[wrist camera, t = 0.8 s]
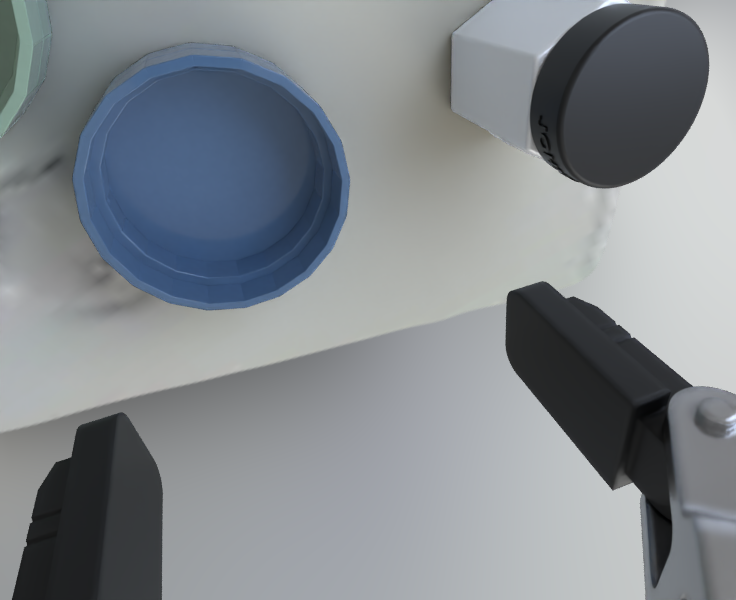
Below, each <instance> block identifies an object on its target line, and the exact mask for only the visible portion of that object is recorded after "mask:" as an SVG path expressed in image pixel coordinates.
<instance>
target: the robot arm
mask: <svg viewBox="0 0 736 600" xmlns="http://www.w3.org/2000/svg"><path fill="white" fill-rule="evenodd" d="M506 352H507V356H508V359H509V361H510V364H511V365H512V367H513V369H514V371H515V372H516V373H517V375H518V376H519V377H520V378H521V379H522V381H523V382H524V383H525V384H526V386H527V387H528V388H529V389H530V390H531V392H532V393H533V394H534V395H535V397H536V398H537V399H538V400H539V401H540V403H541V404H542V405H543V406H544V407H545V409H546V410H547V411H548V412H549V413H550V415H551V416H552V417H553V418H554V420H555V421H556V422H557V423H558V424H559V426H560V427H561V428H562V429H563V430H564V432H565V433H566V434H567V435H568V437H569V438H570V439H571V440H572V442H573V443H574V444H575V445H576V446H577V448H578V449H579V450H580V451H581V453H582V454H583V455H584V456H585V457H586V459H587V460H588V461H589V462H590V463H591V465H592V466H593V467H594V468H595V470H596V471H597V472H598V473H599V474H600V476H601V477H602V478H603V479H604V481H606V483H607V484H608V485H609V487H610V488H611V489H612V490H615V489H617V488H620V487H623V486H625V485H628V484H630V483H634V484H635V485H636V486H637V488H638V489H639V490H640V491H641V492H642V495H641V499H640V509H641V526H642V541H643V542H642V543H643V559H644V576H645V597H646V598H645V599H646V600H736V395H735V394H733V393H731V392H728V391H725V390H721V389H718V388H713V387H704V386H699V387H693V386H692V385H691V384H689V383H688V382H687V381H686V380H685V379H683V378H682V377H681V376H680V375H679V374H677V373H676V372H675V371H674V370H673V369H671V368H670V367H669V366H668V365H666V364H665V363H664V362H663V361H662V360H660V359H659V358H658V357H657V356H656V355H654V354H653V353H652V352H651V351H650V350H649V349H647V348H646V347H645V346H644V345H643V344H641V343H640V342H639V341H638V340H637V339H635V338H631V336H630V334H629V333H628V332H627V331H626V330H625V329H623V328H622V327H621V326H620V325H616V323H615V321H614V320H612V319H611V318H610V317H609V316H608V315H606V314H605V313H604V312H603V311H602V310H601V309H599V308H598V307H596V306H594V305H592V304H590V303H587V302H584V301H583V300H580V299H578V298H576V297H570V298H567V299H566V298H564V297H563V296H562V295H561V294H560V293H559V292H558V291H557V290H555V289H554V288H553V287H552V286H551V285H550V284H548V283H547V282H543V281H542V282H538V283H535V284H532V285H529V286H525V287H522V288H519V289H516V290H513V291H510V292H509V293H508V296H507V307H506ZM162 498H163V492H162V482H161V477H160V474H159V470H158V467H157V465H156V463H155V461H154V459H153V457H152V456H151V454H150V452H149V451H148V449H147V447H146V446H145V444H144V443H143V441H142V439H141V438H140V436H139V434H138V433H137V431H136V430H135V428H134V426H133V425H132V423H131V421H130V419H129V418H128V417H127V415H126V414H124V413H118V414H114V415H111V416H108V417H105V418H102V419H99V420H95V421H92V422H89V423H86V424H82V425H80V426H79V427H78V429H77V432H76V436H75V442H74V447H73V452H72V457H71V458H68V459H65V460H62V461H59V462H56V463H55V464H54V466H53V468H52V469H51V471H50V472H49V474H48V476H47V477H46V479H45V480H44V482H43V483H42V485H41V486H40V488H39V489H38V493H37V497H36V501H35V505H34V509H33V513H32V521H33V522H32V523H30V526H29V530H28V534H27V539H26V542H27V546H26V547H24V551H23V555H22V560H21V564H20V568H19V572H18V577H17V581H16V585H15V589H14V593H13V598H12V600H162V502H163V499H162Z"/></svg>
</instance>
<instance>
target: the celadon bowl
mask: <svg viewBox="0 0 736 600" xmlns="http://www.w3.org/2000/svg"><path fill="white" fill-rule="evenodd" d="M51 33H52V29H51V23H50V18H49V12H48V7H47V2H46V0H0V138H2V137H3V136H4V135H5V133H6V132H7V131H8V130H9V129H10V128H11V127H12V126H13V125H14V124H15V123H16V122H17V121H18V120H19V119H20V118H21V116H22V115H23V114H24V113H25V112H26V110H27V108H28V107H29V105H30V103H31V102H32V100H33V98H34V97H35V95H36V93H37V92H38V90H39V88H40V87H41V85H42V84H43V82H44V80H45V79H44V78H45V77H46V71H47V65H48V58H49V51H50V45H51V38H52V34H51Z"/></svg>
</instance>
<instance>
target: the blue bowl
mask: <svg viewBox="0 0 736 600" xmlns="http://www.w3.org/2000/svg"><path fill="white" fill-rule="evenodd" d="M72 178H73V179H72V181H73V186H74V192H75V197H76V202H77V207H78V213H79V218H80V221H81V223H82V225H83V227H84V229H85V230H86V232H87V234H88V235H89V237H90V239H91V240H92V242H93V244H94V246H95V247H96V249H97V251H98V252H99V254H100V256H101V257H102V258H103V259H104V260H105V261H106V262H107V263H108V264H109V265H110V266H111V267H113V268H114V269H115V270H116V271H117V272H118V273H119V274H120V275H122V276H123V277H124V278H125V279H126V280H127V281H128V282H129V283H130V284H132V285H133V286H135V287H137V288H139V289H141V290H143V291H145V292H147V293H149V294H151V295H153V296H155V297H157V298H159V299H162V300H164V301H166V302H168V303H171V304H176V305H181V306H187V307H192V308H198V309H203V310H221V309H235V308H245V307H246V308H247V307H250V306H253V305H256V304H258V303H261V302H264V301H267V300H270V299H273V298H276V297H279V296H280V295H283V294H284V293H286V292H287V291H289V290H290V289H292V288H293V287H294V286H296V285H297V284H299V283H300V282H302V281H303V280H305V279H306V278H308V277H309V276H310V275H311V274H312V273H313V272H314V271H315V270H316V268H317V267H318V266H319V265H320V264H321V262H322V261H323V260H324V259H325V258H326V256H327V255H328V254H329V253H330V252H331V250H332V248H333V247H334V245H335V243H336V240H337V238H338V235H339V233H340V231H341V228H342V226H343V224H344V221H345V219H346V216H347V208H348V198H349V187H350V176H349V172H348V167H347V163H346V159H345V154H344V150H343V146H342V142H341V140H340V138H339V136H338V135H337V133H336V131H335V130H334V128H333V126H332V125H331V123H330V121H329V120H328V118H327V117H326V115H325V113H324V112H323V110H322V108H321V107H320V106H319V104H318V103H317V102H316V101H315V100H314V99H313V98H312V97H311V96H310V95H309V94H308V93H307V92H306V91H305V90H304V89H303V88H302V87H300V86H299V85H298V84H297V83H296V82H295V81H293V80H292V79H291V78H290V77H289V76H288V75H287V74H285V73H284V72H283V71H282V70H281V69H280V68H278V67H277V66H276V65H275V64H274V63H272V62H270V61H268V60H266V59H263V58H261V57H259V56H256V55H254V54H251V53H249V52H247V51H244V50H242V49H240V48H237V47H235V46H234V47H233V46H229V45H216V44H204V43H185V44H182V45H178V46H174V47H170V48H167V49H163V50H159V51H155V52H152V53H149V54H147V55H145V56H144V57H142V58H141V59H140V60H138V61H137V62H135V63H134V64H133V65H131V66H130V67H128V68H127V69H126V70H124V71H123V72H121V73H120V74H119V75H117V76H116V77H115V78H114V79H113V80H112V81H111V83H110V85H109V86H108V88H107V89H106V91H105V92H104V94H103V96H102V97H101V99H100V100H99V102H98V103H97V105H96V106H95V108H94V110H93V111H92V113H91V115H90V117H89V119H88V121H87V122H86V124H85V126H84V128H83V130H82V132H81V135H80V138H79V143H78V149H77V154H76V159H75V165H74V170H73V175H72Z"/></svg>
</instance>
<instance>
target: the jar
mask: <svg viewBox="0 0 736 600" xmlns="http://www.w3.org/2000/svg"><path fill="white" fill-rule="evenodd" d="M708 75H709V55H708V48H707V44H706V40H705V38H704V36H703V33H702V31H701V30H700V28H699V26H698V25H697V24H696V22H695V21H694V20H693V19H692V18H691V17H689V16H688V15H686V14H685V13H683V12H681V11H679V10H676V9H673V8H668V7H659V6H649V5H639V4H631V3H630V2H628V1H627V0H492V1H491V2H489V3H488V4H487V5H486V6H485V7H483V8H482V9H481V10H480V11H479V12H477V13H476V14H475V15H474V16H473V17H471V18H470V19H469V20H468V21H467V22H465V23H464V24H463V25H462V26H460V27H459V28H458V29H457V30H456V31H454V32H453V34H452V55H451V110H452V111H453V112H455V113H457V114H458V115H460V116H462V117H464V118H466V119H468V120H469V121H471V122H473V123H475V124H477V125H478V126H480V127H482V128H484V129H486V130H487V131H489V132H490V134H492V135H494V137H497V138H499V139H500V140H502V141H503V142H505V143H507V144H509V145H511V146H513V147H515V148H517V149H519V150H521V151H523V152H525V153H527V154H529V155H532V156H534V157H535V156H536V157H538V158H540V159H542V160H544V161H546V162H547V163H548V164H549V165H551V166H552V167H553V168H555V169H556V170H558V172H559V173H561V174H563V175H565V176H566V177H568V178H570V179H572V180H574V181H576V182H581V183H582V184H585V185H587V186H590V187H595V188H615V187H619V186H623V185H626V184H629V183H631V182H634V181H636V180H638V179H640V178H642V177H643V176H645V175H646V174H648V173H650V172H651V171H652V170H654V169H655V168H656V167H657V166H659V165H660V164H661V163H662V162H663V161H664V160H665V159H666V158H667V157H668V156H669V155H670V154H671V153H672V152H673V151H674V150H675V149H676V147H677V146H678V145H679V144H680V142H681V141H682V139H683V138H684V137H685V135H686V134H687V132H688V131H689V129H690V127H691V126H692V124H693V122H694V120H695V118H696V116H697V114H698V111H699V109H700V107H701V104H702V101H703V98H704V95H705V91H706V87H707V82H708Z"/></svg>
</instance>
